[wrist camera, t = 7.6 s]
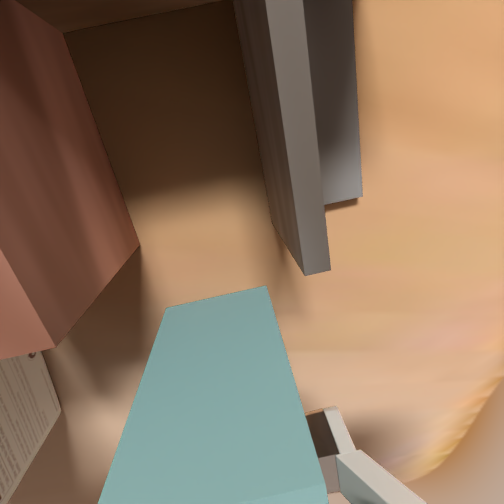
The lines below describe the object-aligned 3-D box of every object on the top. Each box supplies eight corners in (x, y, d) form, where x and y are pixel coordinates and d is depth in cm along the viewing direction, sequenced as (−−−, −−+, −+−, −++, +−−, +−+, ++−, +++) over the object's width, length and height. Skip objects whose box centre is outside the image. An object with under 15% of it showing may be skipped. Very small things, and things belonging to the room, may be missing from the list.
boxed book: (220, 458, 14) (217, 717, 8) (165, 308, 11) (82, 540, 5) (299, 440, 15) (360, 682, 8) (267, 284, 11) (328, 482, 5)
